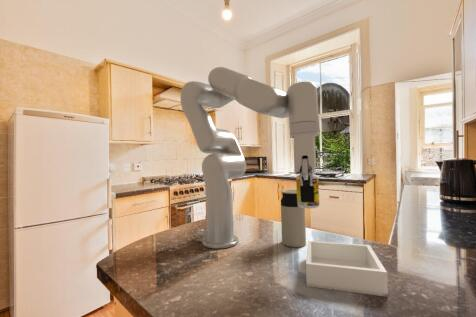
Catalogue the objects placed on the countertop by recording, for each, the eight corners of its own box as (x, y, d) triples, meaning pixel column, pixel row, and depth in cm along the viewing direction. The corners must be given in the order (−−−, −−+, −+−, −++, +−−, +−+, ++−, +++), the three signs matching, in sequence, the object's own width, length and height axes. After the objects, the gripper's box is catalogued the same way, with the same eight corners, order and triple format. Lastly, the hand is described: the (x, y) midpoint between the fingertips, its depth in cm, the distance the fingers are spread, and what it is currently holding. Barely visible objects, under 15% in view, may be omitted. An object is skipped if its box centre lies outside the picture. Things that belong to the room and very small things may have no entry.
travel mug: (311, 244, 78) (309, 191, 79) (292, 249, 75) (290, 193, 75) (295, 238, 86) (293, 188, 86) (277, 242, 82) (275, 190, 82)
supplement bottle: (309, 210, 57) (307, 168, 58) (293, 207, 62) (290, 168, 62) (324, 206, 60) (322, 167, 61) (307, 204, 65) (305, 167, 65)
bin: (306, 286, 53) (305, 263, 53) (308, 257, 68) (307, 240, 68) (387, 296, 48) (387, 272, 48) (370, 263, 63) (369, 245, 63)
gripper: (293, 135, 71) (296, 195, 71) (285, 127, 55) (289, 205, 54) (319, 133, 69) (322, 195, 68) (319, 124, 52) (324, 206, 52)
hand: (308, 199), depth 61 cm, fingers closed on supplement bottle, 5 cm apart
